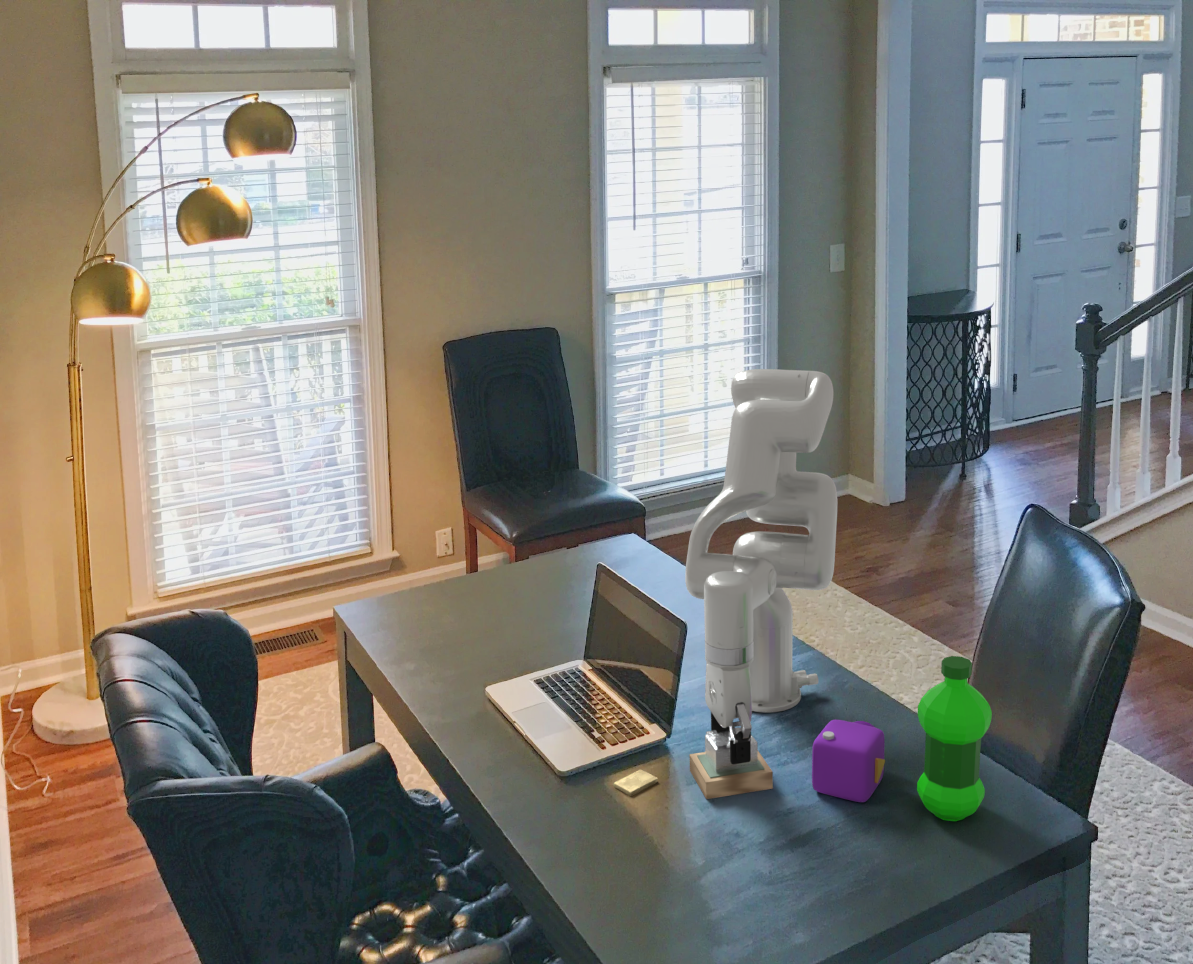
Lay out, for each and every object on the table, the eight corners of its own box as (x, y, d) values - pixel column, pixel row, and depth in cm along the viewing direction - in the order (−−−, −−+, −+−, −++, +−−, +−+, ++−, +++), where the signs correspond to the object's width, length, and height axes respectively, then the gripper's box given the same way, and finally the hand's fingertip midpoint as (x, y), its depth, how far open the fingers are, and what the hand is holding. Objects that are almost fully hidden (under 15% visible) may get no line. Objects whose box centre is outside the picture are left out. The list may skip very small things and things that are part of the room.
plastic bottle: (941, 786, 201) (947, 641, 193) (998, 813, 193) (1008, 663, 185) (900, 809, 195) (905, 661, 187) (958, 839, 187) (966, 685, 179)
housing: (716, 772, 201) (715, 744, 200) (705, 757, 206) (704, 729, 204) (757, 764, 203) (757, 736, 201) (745, 749, 208) (745, 722, 206)
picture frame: (753, 760, 210) (753, 743, 209) (772, 788, 202) (772, 770, 201) (689, 770, 208) (689, 753, 207) (706, 799, 200) (705, 781, 199)
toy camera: (889, 764, 208) (891, 709, 205) (879, 809, 195) (881, 751, 192) (823, 756, 211) (824, 701, 208) (808, 799, 199) (809, 742, 196)
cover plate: (640, 775, 209) (640, 769, 208) (657, 784, 206) (657, 778, 205) (613, 789, 205) (613, 783, 204) (630, 798, 202) (630, 792, 202)
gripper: (690, 630, 206) (692, 725, 211) (723, 677, 190) (725, 778, 195) (734, 624, 207) (735, 718, 212) (771, 670, 191) (771, 770, 196)
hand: (730, 747), depth 204 cm, fingers open, 9 cm apart
